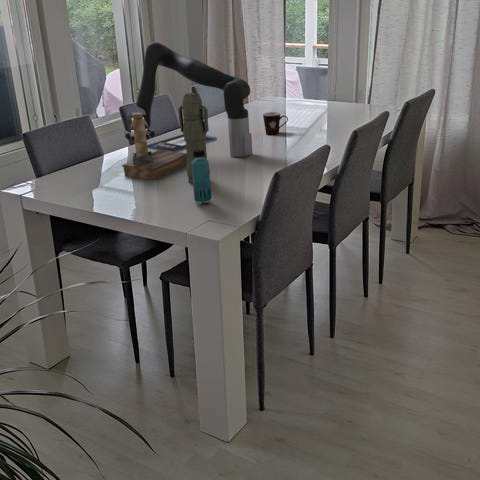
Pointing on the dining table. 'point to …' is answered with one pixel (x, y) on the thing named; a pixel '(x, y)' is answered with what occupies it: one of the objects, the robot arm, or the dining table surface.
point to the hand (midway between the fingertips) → (140, 137)
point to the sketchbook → (175, 143)
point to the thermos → (193, 127)
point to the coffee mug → (272, 122)
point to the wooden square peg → (139, 135)
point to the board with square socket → (155, 164)
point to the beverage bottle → (201, 177)
